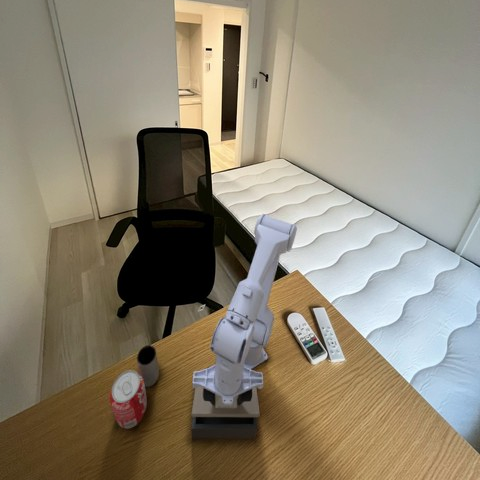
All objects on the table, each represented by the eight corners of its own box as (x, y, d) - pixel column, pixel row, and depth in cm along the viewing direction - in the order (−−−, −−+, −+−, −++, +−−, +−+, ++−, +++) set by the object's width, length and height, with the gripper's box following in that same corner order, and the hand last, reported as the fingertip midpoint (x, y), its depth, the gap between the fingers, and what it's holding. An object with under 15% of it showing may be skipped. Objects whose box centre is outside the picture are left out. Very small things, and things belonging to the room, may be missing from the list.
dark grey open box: (255, 439, 56) (257, 429, 54) (191, 438, 55) (191, 428, 53) (252, 384, 65) (254, 373, 63) (197, 383, 65) (197, 372, 62)
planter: (137, 376, 65) (133, 354, 61) (153, 362, 68) (150, 340, 64) (146, 391, 62) (142, 370, 58) (162, 376, 65) (159, 354, 61)
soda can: (140, 384, 64) (135, 359, 58) (153, 411, 59) (148, 386, 54) (111, 409, 59) (103, 384, 54) (123, 440, 54) (115, 416, 49)
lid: (259, 417, 52) (260, 396, 52) (191, 417, 52) (192, 395, 52) (254, 374, 63) (255, 356, 63) (197, 373, 62) (198, 355, 62)
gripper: (189, 391, 45) (190, 424, 50) (267, 392, 45) (259, 424, 51) (195, 348, 51) (195, 381, 57) (263, 349, 52) (257, 382, 57)
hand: (226, 399), depth 54 cm, fingers closed on lid, 5 cm apart
